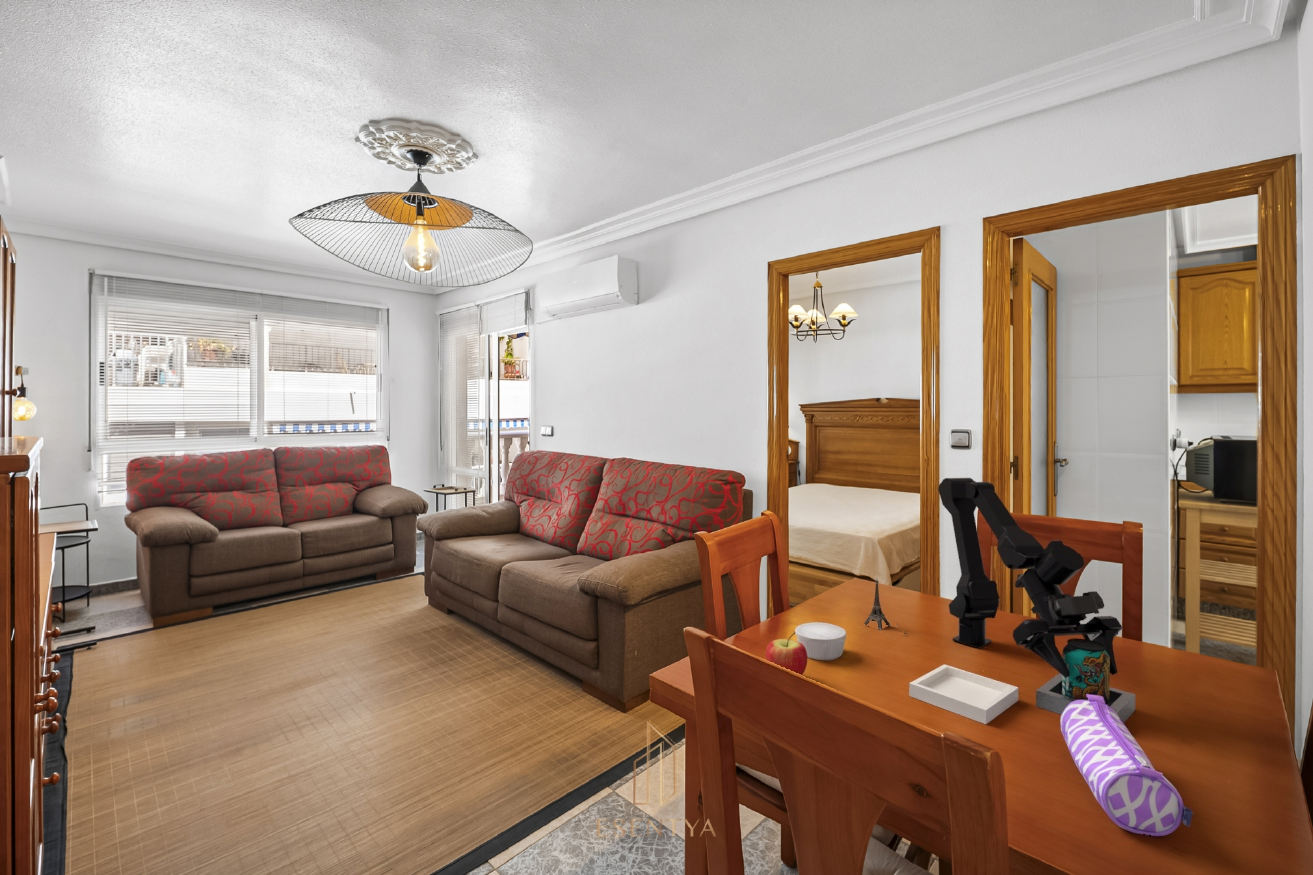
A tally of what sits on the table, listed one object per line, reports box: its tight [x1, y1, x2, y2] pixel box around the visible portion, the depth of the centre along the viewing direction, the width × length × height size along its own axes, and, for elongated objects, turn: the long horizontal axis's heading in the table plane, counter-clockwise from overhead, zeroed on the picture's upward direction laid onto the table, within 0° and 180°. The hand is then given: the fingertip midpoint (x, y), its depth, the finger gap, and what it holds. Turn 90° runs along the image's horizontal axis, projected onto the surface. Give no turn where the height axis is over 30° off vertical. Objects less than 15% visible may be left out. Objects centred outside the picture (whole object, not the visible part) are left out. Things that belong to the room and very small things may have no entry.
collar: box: [1035, 672, 1136, 724], centre depth 111 cm, size 12×12×3 cm
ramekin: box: [794, 621, 847, 661], centre depth 138 cm, size 11×11×5 cm
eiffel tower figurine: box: [863, 579, 908, 637], centre depth 156 cm, size 15×10×13 cm
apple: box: [765, 631, 808, 676], centre depth 124 cm, size 8×8×10 cm
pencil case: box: [1059, 694, 1194, 837], centre depth 86 cm, size 22×9×10 cm, turn 162°
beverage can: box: [1062, 637, 1111, 707], centre depth 111 cm, size 7×7×12 cm
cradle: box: [908, 663, 1019, 725], centre depth 115 cm, size 14×14×2 cm
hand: (1091, 675), depth 109 cm, fingers open, 9 cm apart
